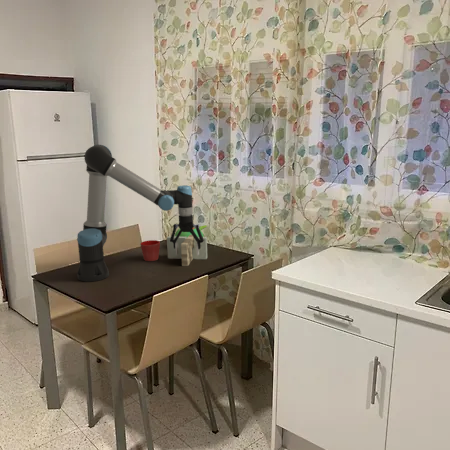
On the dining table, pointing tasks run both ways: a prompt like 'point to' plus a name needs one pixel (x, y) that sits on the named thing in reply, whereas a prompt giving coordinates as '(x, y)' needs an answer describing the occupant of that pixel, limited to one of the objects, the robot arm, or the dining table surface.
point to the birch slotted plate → (187, 250)
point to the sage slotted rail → (194, 254)
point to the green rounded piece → (185, 234)
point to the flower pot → (150, 250)
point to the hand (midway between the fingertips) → (187, 254)
